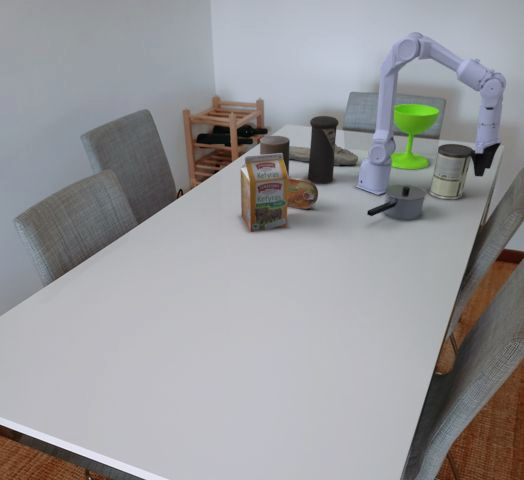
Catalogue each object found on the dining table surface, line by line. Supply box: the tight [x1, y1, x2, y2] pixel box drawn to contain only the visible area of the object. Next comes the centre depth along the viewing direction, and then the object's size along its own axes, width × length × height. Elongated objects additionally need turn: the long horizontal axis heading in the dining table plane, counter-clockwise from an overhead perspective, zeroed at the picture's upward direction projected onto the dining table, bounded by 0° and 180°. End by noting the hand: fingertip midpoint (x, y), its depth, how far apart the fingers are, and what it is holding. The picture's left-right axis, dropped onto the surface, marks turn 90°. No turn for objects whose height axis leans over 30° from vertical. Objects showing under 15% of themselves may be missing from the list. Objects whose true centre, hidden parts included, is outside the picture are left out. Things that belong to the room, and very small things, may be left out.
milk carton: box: [240, 153, 288, 233], centre depth 141 cm, size 11×11×19 cm
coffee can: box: [428, 143, 474, 200], centre depth 160 cm, size 10×10×14 cm
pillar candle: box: [259, 135, 290, 177], centre depth 168 cm, size 10×10×15 cm
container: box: [307, 115, 340, 185], centre depth 167 cm, size 9×9×20 cm
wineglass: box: [391, 103, 440, 170], centre depth 183 cm, size 16×16×18 cm
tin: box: [287, 176, 319, 210], centre depth 154 cm, size 15×3×8 cm, turn 62°
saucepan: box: [366, 184, 427, 221], centre depth 148 cm, size 12×22×8 cm, turn 131°
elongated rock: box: [289, 143, 359, 167], centre depth 189 cm, size 35×5×10 cm
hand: (482, 172), depth 150 cm, fingers open, 7 cm apart
